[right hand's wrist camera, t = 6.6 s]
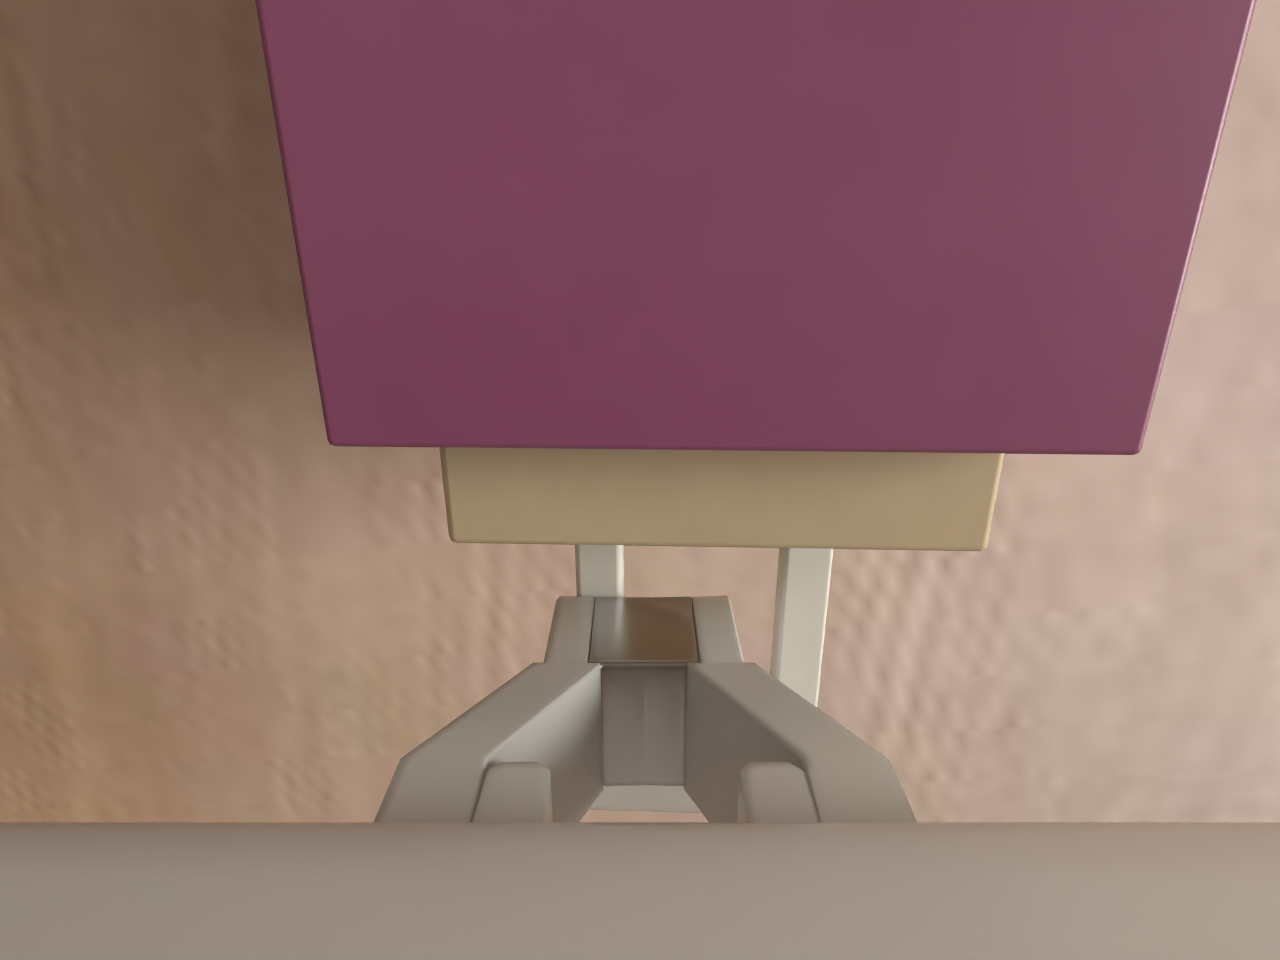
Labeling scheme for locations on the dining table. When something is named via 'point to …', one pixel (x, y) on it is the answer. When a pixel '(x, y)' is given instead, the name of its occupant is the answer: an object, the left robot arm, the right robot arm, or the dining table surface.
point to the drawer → (722, 525)
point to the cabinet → (747, 217)
